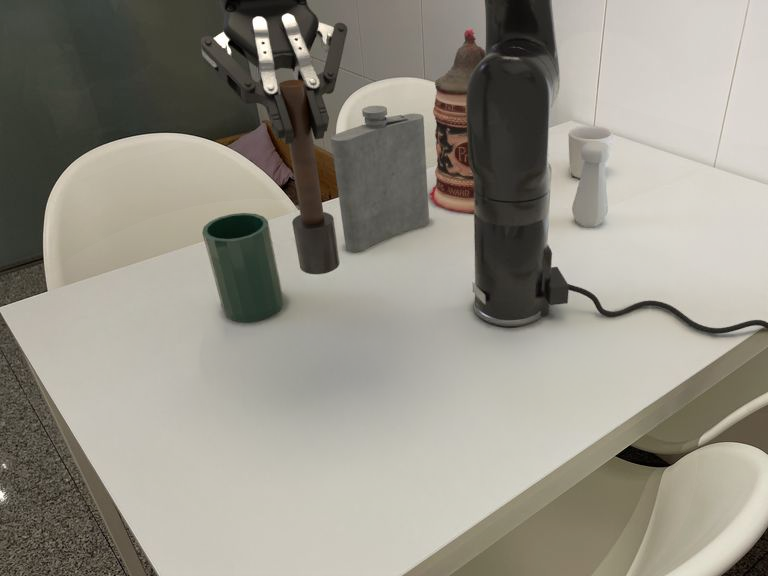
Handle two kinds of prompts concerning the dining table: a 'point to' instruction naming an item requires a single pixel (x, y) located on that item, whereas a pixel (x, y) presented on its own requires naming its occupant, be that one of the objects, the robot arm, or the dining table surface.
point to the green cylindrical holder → (244, 266)
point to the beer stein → (455, 131)
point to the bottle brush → (308, 189)
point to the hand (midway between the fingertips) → (305, 136)
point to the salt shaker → (592, 186)
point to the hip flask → (381, 177)
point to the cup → (579, 139)
